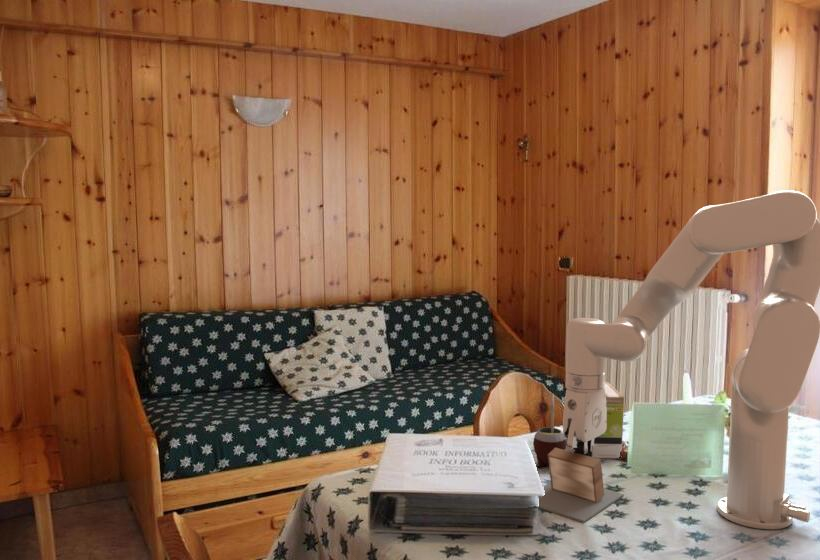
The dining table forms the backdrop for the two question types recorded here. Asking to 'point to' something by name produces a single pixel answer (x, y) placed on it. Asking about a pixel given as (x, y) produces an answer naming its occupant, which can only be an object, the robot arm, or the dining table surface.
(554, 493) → the mat
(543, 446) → the mate gourd
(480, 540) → the dining table surface
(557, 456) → the slab
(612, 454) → the tea box
